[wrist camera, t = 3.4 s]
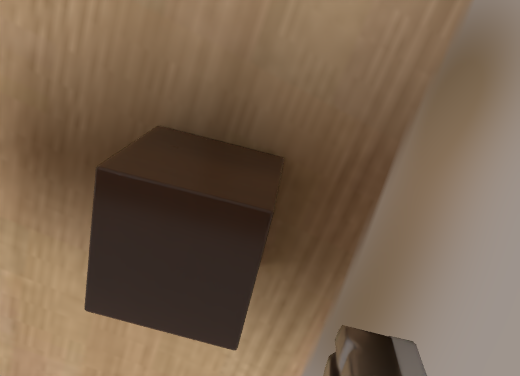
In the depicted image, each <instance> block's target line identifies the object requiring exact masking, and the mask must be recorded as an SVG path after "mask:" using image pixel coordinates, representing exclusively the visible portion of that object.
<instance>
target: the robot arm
mask: <svg viewBox="0 0 520 376" xmlns="http://www.w3.org/2000/svg"><path fill="white" fill-rule="evenodd" d="M335 345H336V352H335V353H333V354H332V355H330V356H329V358H328V361H327V364H326V367H325V370H324V375H323V376H427V375H426V372H425V369H424V367H423V364H422V361H421V358H420V355H419V352H418V349H417V347H416V344H415V343H414V342H413V341H409V340H405V339H400V338H396V337H391V336H384V335H380V334H376V333H372V332H368V331H364V330H360V329H356V328H352V327H348V326H344V325H342V326H341V328H340V329H339V331H338V334H337V336H336V339H335Z"/></svg>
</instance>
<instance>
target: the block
mask: <svg viewBox="0 0 520 376" xmlns="http://www.w3.org/2000/svg"><path fill="white" fill-rule="evenodd" d="M283 164H284V158H283V157H279V156H275V155H271V154H267V153H263V152H259V151H255V150H251V149H247V148H244V147H240V146H236V145H232V144H228V143H224V142H220V141H216V140H212V139H208V138H204V137H200V136H196V135H193V134H189V133H185V132H181V131H177V130H173V129H169V128H165V127H161V126H157V127H155V128H154V129H152V130H151V131H149V132H148V133H146V134H145V135H143V136H142V137H140V138H139V139H137V140H136V141H134V142H133V143H131V144H130V145H128V146H127V147H125V148H124V149H122V150H121V151H119V152H118V153H116V154H115V155H113V156H112V157H110V158H109V159H107V160H106V161H104V162H103V163H101V164H100V165H98V166H97V167H96V175H95V187H94V199H93V212H92V224H91V236H90V248H89V260H88V272H87V285H86V297H85V310H86V311H88V312H92V313H96V314H99V315H103V316H107V317H111V318H114V319H118V320H122V321H126V322H129V323H133V324H137V325H141V326H144V327H148V328H152V329H156V330H159V331H163V332H167V333H171V334H174V335H178V336H182V337H186V338H189V339H193V340H197V341H201V342H205V343H208V344H212V345H216V346H220V347H223V348H227V349H231V350H236V349H237V348H238V344H239V340H240V337H241V333H242V329H243V325H244V322H245V318H246V314H247V311H248V307H249V303H250V299H251V296H252V292H253V288H254V284H255V281H256V277H257V273H258V269H259V266H260V262H261V258H262V254H263V251H264V247H265V243H266V239H267V236H268V232H269V228H270V224H271V221H272V217H273V213H274V208H275V203H276V198H277V193H278V188H279V183H280V179H281V174H282V169H283Z"/></svg>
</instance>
